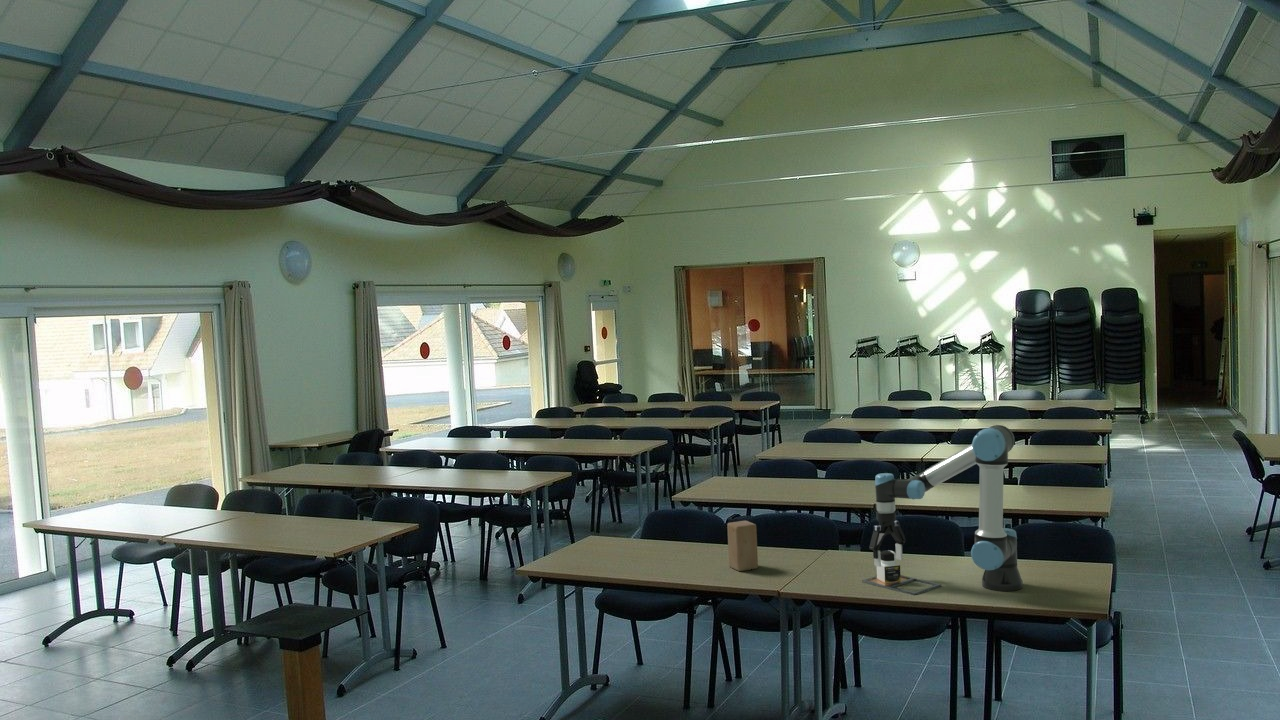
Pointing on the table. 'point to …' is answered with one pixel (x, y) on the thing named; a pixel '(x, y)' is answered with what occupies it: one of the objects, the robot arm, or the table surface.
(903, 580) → the grey divided frame
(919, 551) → the table surface
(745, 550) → the wooden block
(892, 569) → the medicine bottle
